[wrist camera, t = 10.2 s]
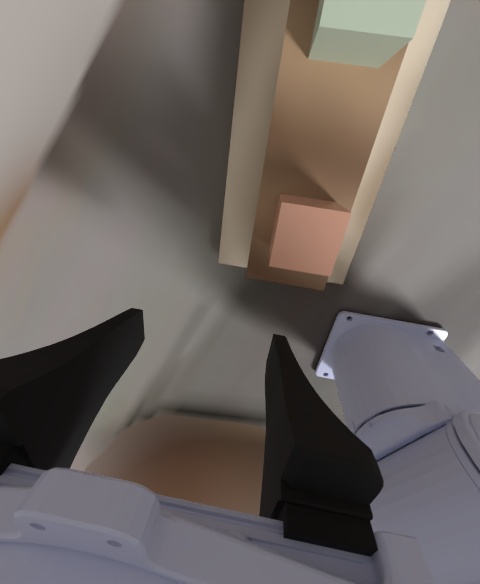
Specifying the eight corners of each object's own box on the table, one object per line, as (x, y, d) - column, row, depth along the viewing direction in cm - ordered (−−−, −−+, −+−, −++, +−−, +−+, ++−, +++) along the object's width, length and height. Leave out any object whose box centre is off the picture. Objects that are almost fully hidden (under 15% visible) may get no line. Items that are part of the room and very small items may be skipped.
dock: (458, -53, 12) (480, -79, 11) (338, 276, 21) (342, 284, 20) (256, -76, 13) (254, -104, 11) (221, 256, 21) (218, 262, 20)
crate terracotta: (336, 202, 13) (352, 213, 11) (320, 255, 15) (330, 276, 12) (280, 193, 13) (281, 202, 11) (269, 247, 15) (268, 266, 12)
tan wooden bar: (303, -65, 12) (316, -161, 8) (411, -52, 11) (472, -145, 8) (250, 255, 19) (245, 277, 16) (314, 266, 19) (323, 291, 16)
